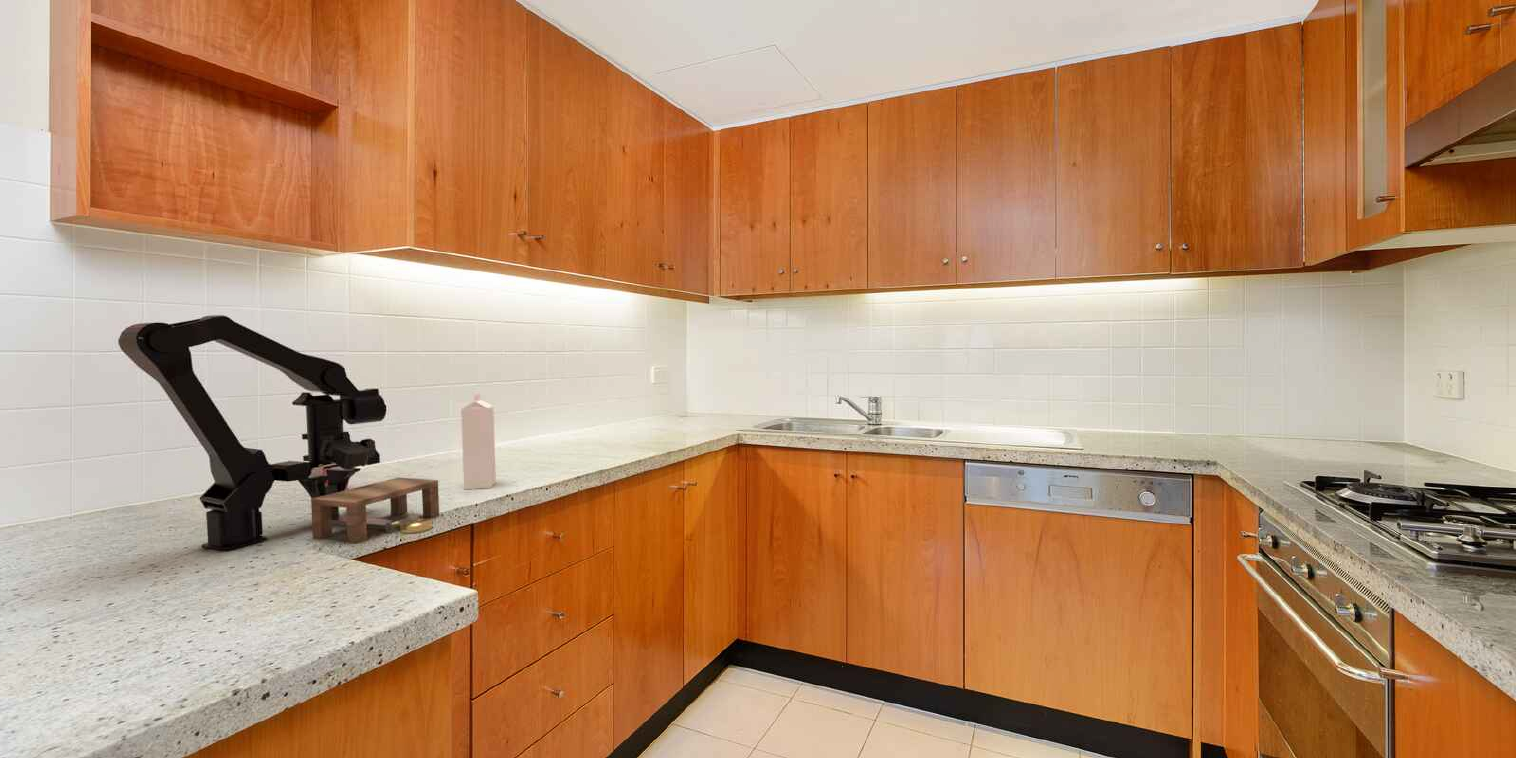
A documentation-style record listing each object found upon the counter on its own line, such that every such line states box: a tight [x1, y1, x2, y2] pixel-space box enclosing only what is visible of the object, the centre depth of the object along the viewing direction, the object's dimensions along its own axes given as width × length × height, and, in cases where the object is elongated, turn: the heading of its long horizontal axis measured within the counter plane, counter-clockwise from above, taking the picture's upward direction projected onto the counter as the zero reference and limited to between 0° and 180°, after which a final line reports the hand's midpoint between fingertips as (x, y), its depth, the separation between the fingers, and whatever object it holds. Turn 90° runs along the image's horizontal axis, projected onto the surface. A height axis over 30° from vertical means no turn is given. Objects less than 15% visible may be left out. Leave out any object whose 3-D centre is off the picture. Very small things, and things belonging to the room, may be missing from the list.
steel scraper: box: [325, 483, 420, 534], centre depth 118 cm, size 6×20×7 cm, turn 73°
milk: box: [460, 393, 497, 490], centre depth 149 cm, size 6×6×22 cm
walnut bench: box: [310, 477, 440, 544], centre depth 117 cm, size 18×10×7 cm, turn 163°
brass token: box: [399, 518, 433, 535], centre depth 115 cm, size 5×5×2 cm
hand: (329, 508), depth 121 cm, fingers closed on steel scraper, 2 cm apart
